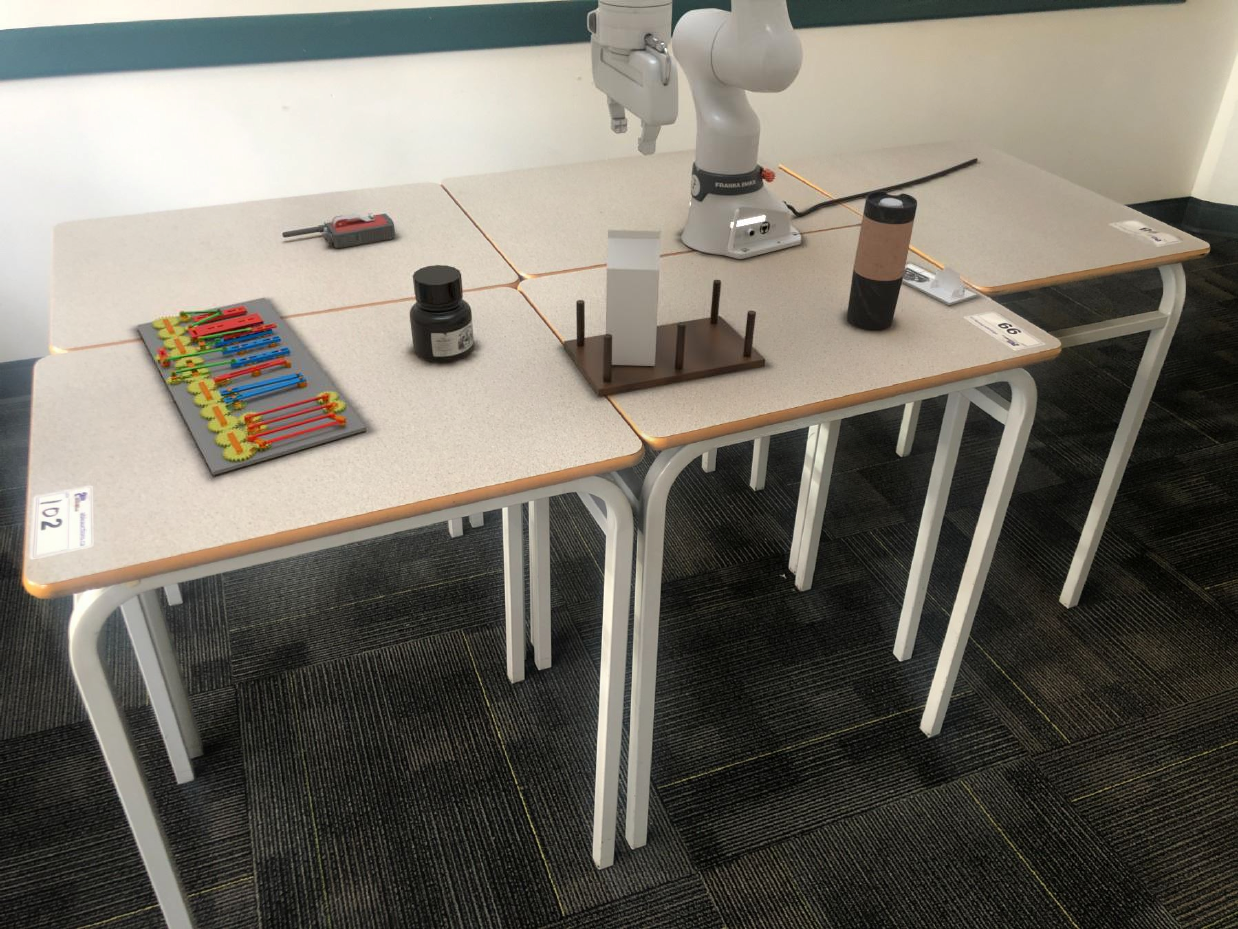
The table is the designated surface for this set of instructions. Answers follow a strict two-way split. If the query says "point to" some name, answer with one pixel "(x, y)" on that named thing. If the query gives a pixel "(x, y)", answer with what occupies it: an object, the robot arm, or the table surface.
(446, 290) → the ink bottle
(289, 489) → the table surface
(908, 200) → the travel mug
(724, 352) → the peg rack
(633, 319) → the milk carton
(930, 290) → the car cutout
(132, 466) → the table surface
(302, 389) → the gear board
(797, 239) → the robot arm
